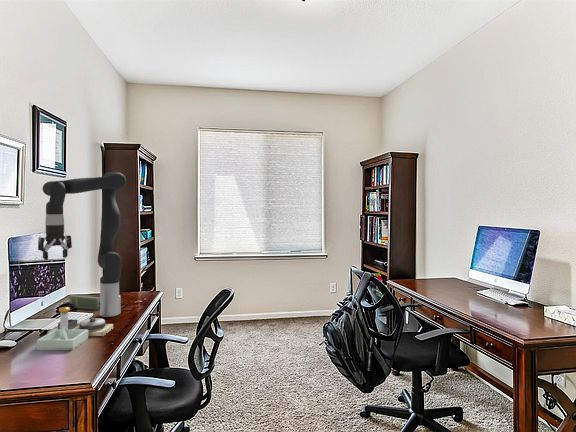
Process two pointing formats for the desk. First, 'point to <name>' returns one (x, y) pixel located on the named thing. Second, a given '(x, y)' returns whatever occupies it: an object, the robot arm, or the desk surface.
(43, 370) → the desk surface
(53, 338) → the tray
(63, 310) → the orange capped tube
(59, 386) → the desk surface
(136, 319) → the desk surface
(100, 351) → the desk surface
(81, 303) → the handheld radio
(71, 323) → the tensioner bracket
